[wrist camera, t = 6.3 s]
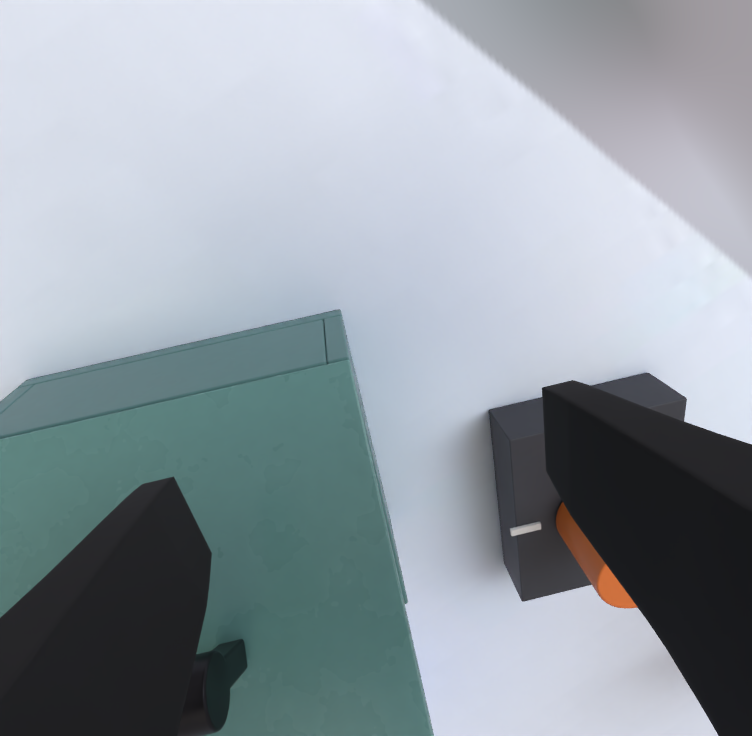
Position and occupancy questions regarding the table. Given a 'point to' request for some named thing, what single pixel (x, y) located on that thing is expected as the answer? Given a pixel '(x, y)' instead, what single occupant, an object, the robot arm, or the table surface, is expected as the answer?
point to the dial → (591, 562)
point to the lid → (245, 548)
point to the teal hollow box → (184, 379)
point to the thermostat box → (548, 487)
